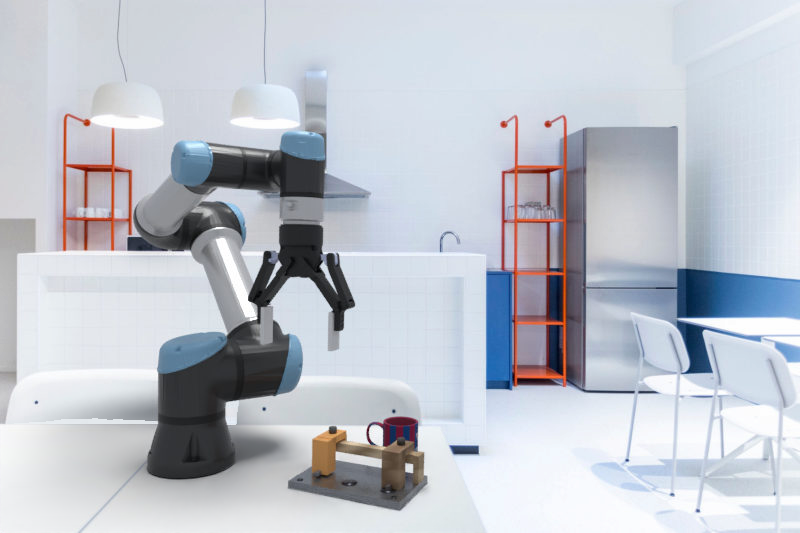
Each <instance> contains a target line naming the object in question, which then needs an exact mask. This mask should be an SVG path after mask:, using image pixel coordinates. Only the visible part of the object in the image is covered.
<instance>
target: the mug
mask: <svg viewBox="0 0 800 533" xmlns="http://www.w3.org/2000/svg"><path fill="white" fill-rule="evenodd" d="M375 425H376V426H378V427H380V428H381V429H382V446H383V447H387V446H389V445H391V444H392V443H394V442H395V441H397V438H398V437H404V438H405V441H412V442H414V451H415V452H418V451H419V420H418V419H416V418H414V417H409V416H390V417H387V418H385V419H384V420H383V421H382V422H379V421H372V422H370V423H368V425H367V428H366V432H365V434H366V435H365V436H366V440H367V442H368V444H370V445H376V446H379V445H378V444H376V443H374V442H373V440H372V439H371V437H370V428H371V427H372V426H375Z"/></svg>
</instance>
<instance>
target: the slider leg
mask: <svg viewBox="0 0 800 533" xmlns="http://www.w3.org/2000/svg"><path fill="white" fill-rule="evenodd" d="M341 440H344V441H348V435H347V430H343V429H339V428H338V426H336V425H331V426H330V425H329V427H328V430H326V431H324V432H322V433H320V434H319V435H317V436H315V437H314V438H312V440H311V452H312V453H311V466H312V473H314V476H320V475H321V474H322V475H329V474H330V473H332V472H333V471H335V466H336V460H337V458H336V453H337V452H336V443H337V442H339V441H341Z"/></svg>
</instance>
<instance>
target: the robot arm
mask: <svg viewBox="0 0 800 533" xmlns="http://www.w3.org/2000/svg"><path fill="white" fill-rule="evenodd" d="M325 149H326V148H325V138H324V137H323V136H322V135H321V134H320V133H316V132H313V131H305V130H291V131H290V130H289V131H285V132H284V133H282V135H281V137H280V144H279V149H267V148H266V149H264V148H256V147H247V146H239V145H231V144H230V145H229V144H221V143H217V142H216V143H215V142H210V141H209V142H208V141H207V142H206V141H204V140H179V141H177V142H176V143H175V144H174V146H173V151H172V152H171V156H170V174H169V175H168V176H167V178H166V179H165V180H164V181H163V182H162V183H161V184H160V185H159V187H158V188H157V189H156V190H155V191H154V192H151V193H149V194H147V195H144V196H143V197H142V198H141V199H140V200H139V201H138V203H137V204H136V206H135V207H134V210H133V213H132V214H133V215H132V219H133V220H132V221H133V225H134V228H135V230H136V232H137V233H138V234H139V236H140V237H141V238H142V240H145V241H146V242H147V243H148V244H150V245H152V246H154V247H156V248H159V249H163V250H168V251H190V253H191V256H192V258H193V259H194V260H195V262H197V263H198V264H200V265H202V266H203V269H204V271H205V274H206V277H207V280H208V283H209V285H210V288H211V290H212V293H213V297H214V299H215V301H216V302H215V303H216V304H217V308H218V310H219V312H220V316H221V318H222V321H223V323H224V327H225V329H226V333H227V334H225V333H224V332H220V331H207V332H204V331H203V332H193V333H191V334H190V333H189V334H185V335H181V336H177V337H174V338H171V339H169V340H166V341H165V342H164V343H162V345H161V346H160V348H159V351H158V359H157V360H158V362H157V366H156V367H157V368H156V371H157V375H158V376H157V377H158V378H157V426H156V429H155V432H154V435H153V438H152V441H151V445H150V449H149V450H148V452H147V457H146V460H147V461H146V466H147V467H146V469H147V471H148V473H150V474H152V475H155V476H157V477H162V478H169V479H190V478H191V479H192V478H198V477H204V476H209V475H213V474H216V473H220V472H222V471H224V470H226V469H228V468H230V467H231V466H232V465H234V463H235V461H236V447H235V444H234V443H233V441H232V437H231V433H230V430H229V429H230V428H229V426H228V423H227V419H226V415H227V414H226V406H227V403H229V402H236V401H243V400H250V399H252V400H253V399H258V398H266V397H277V396H278V395H284V394H287V393H288V394H289V393H291V392H293V391H294V390H295V389H296V388H297V387H298V385H299V382H300V380H301V376H302V372H303V365H304V364H303V362H304V355H303V348H302V347H303V346H302V343H301V341H300V339H299V337H298V336H297V335H296V334H291V333H287V334H285V333H284V332H283V330H282V328H281V325H280V324H279V322H278V321H277V320H275V319H274V306H272V303H271V302H272V300H274V298H275V297H276V295H277V294H278V292H279V291H280V290H281V289H282V288H283V286H284V285H285V284H286V283H287V281H288V280H290V278H301V279H310V281H312V282H313V283H314V285H315V286H316V288H317V289H318V290H319V292H320V293H321V295H322V296H323V298H324V299H325V301H326V302H327V304H328V305H329V306H330V308H331V311H330V312H329V311H328V313H327V314H328V316H327V318H328V319H327V320H328V321H327V322H328V323H327V352H334V351H337V350H339V349H340V332H342V331H343V330H344V329H345V312H346V311H347V310H351V309H353V308H355V307H356V302H355V300H354V296H353V294H352V293H351V289H350V286H349V284H348V283H347V279H346V277H345V274H344V272H343V268H342V267H341V261H340V260H341V259H340V254H339V253H338V252H328V253H324V252H323V246H324V245H323V244H324V227H323V225H321V223H322V222H324V221H325V220H324V218H325V216H324V215H325V214H324V213H325V212H324V211H325V206H324V205H325V203H324V202H325V199H324V198H325V197H324V196H325V177H326V176H325V175H326V173H325V172H326V171H325V170H326V154H325ZM217 189H232V190H247V191H259V192H261V193H266V194H278V193H279V220H280V221H281V222H282V224H280V226H278V245H279V246H280V248H279V252H277V251H276V250H265V251H263V255H262V262H261V263H262V264H261V266H260V268H259V271H258V272H257V275H256V277H255V280H254V281H253V279H252V276H251V274H250V272H249V269H248V267H247V265H246V261H245V260H244V258H243V255H242V253H241V250H242V248H243V246H244V245H245V242H246V238H247V226H245V224H246V221H245V216H244V214H243V212H242V210H241V209H240V207H239V206H237V205H236V204H234V203H231V202H224V201H221V200H216V201H215V200H214V201H210V200H209V201H208V200H207V201H206V198H207V197H209V196H210V195H211V194H212V193H213V192H215V191H216V190H217ZM278 262H279V263H280V267H279V268H278V270H277V271H276V272H275V276H274V277H273V278H272V280H271V281H270V279H271V277H272V275H273V272H274V270H275V268H276V264H277V263H278ZM323 263H324V265H325V266H326V267H327V271H328V274H329V276H330V279H331V280H332V283H333V286H334V287H333V286H332V284H331V282H330V281H329V279H328V278H327V277H326V274H325V272H324V270H323V269H322V267H321V265H322V264H323Z"/></svg>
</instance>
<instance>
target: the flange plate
mask: <svg viewBox="0 0 800 533" xmlns="http://www.w3.org/2000/svg"><path fill="white" fill-rule="evenodd" d="M381 475H382V467H381V466H380V467H379V466H373V465H367V464H362V463H361V464H360V463H355V462H350V461H349V462H348V461H345V460H339V459H338V460H337V459H336V466H335V471H333V472H332V473H330V474H329V475H322V474H321V475H320V476H314V473H312V465H311V466H309V467H308V468H307V469H305V470H303V471H301V472H300V473H299V474H297V475H296V476H294V477H292V478H290V479H289V480H288V481H287V488H288V489H292V490H297V491H301V492H307V493H310V494H311V493H312V494H315V495H321V496H326V497H332V498H337V499H342V500H347V501H351V502H357V503H361V504H366V505H372V506H377V507H382V508H387V509H392V510H398V511H401V510H402V508H404V507H405V505H407V504H408V503H409V502H410V501H411V500H412V499H413V498H414V497H415V496H416V495H417V494H418V493H419V491H421V490H422V488H424V487H425V486H426V485H427V484H428V475H426V474H425V475H424V480H423V481H422V482H420V483H419V484H414V483H413V472H408V471H405V485H404V486H403V487H402V488H401V489H399V490H396V489H391V490H390V491H385V487H381Z"/></svg>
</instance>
